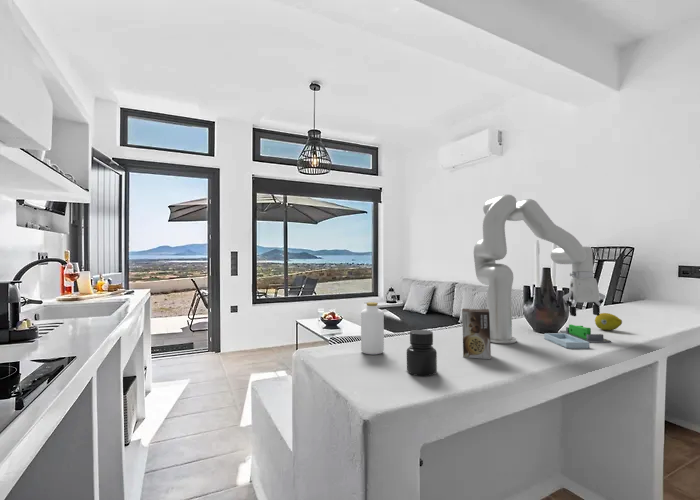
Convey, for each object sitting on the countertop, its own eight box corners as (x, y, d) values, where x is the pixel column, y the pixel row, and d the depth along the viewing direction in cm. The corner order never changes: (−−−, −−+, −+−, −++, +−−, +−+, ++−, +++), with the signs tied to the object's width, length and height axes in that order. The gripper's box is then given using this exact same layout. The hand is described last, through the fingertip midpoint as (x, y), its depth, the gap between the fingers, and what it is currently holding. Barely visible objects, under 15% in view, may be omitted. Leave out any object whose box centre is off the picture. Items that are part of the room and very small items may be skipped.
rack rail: (588, 342, 140) (588, 336, 140) (559, 332, 160) (559, 326, 160) (611, 342, 140) (611, 335, 140) (579, 331, 160) (579, 326, 160)
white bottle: (387, 350, 130) (386, 302, 131) (379, 356, 123) (378, 304, 123) (366, 348, 134) (365, 301, 134) (357, 354, 126) (357, 303, 127)
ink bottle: (444, 373, 104) (443, 333, 105) (422, 379, 100) (422, 336, 100) (420, 365, 113) (420, 327, 113) (399, 370, 108) (399, 331, 108)
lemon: (590, 329, 166) (589, 312, 166) (601, 327, 169) (601, 311, 169) (614, 333, 156) (613, 315, 156) (625, 332, 159) (625, 314, 159)
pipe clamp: (596, 340, 145) (596, 329, 145) (587, 340, 144) (587, 329, 144) (577, 334, 156) (577, 324, 156) (569, 334, 156) (568, 324, 156)
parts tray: (566, 348, 132) (566, 342, 132) (544, 338, 147) (544, 333, 147) (589, 348, 132) (589, 342, 132) (565, 338, 147) (565, 333, 147)
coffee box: (490, 354, 124) (489, 308, 124) (491, 359, 118) (490, 311, 118) (462, 352, 127) (462, 307, 127) (462, 357, 121) (461, 310, 121)
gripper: (567, 276, 147) (569, 317, 147) (609, 275, 147) (611, 316, 146) (557, 275, 155) (559, 314, 154) (597, 274, 154) (599, 313, 154)
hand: (584, 315), depth 150 cm, fingers open, 9 cm apart
